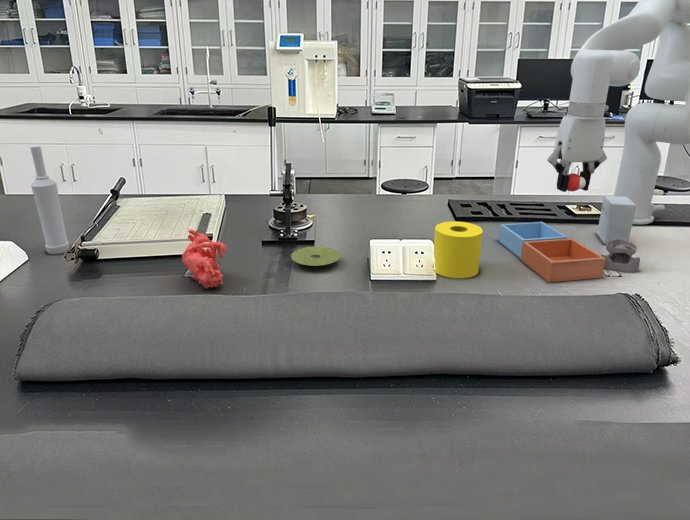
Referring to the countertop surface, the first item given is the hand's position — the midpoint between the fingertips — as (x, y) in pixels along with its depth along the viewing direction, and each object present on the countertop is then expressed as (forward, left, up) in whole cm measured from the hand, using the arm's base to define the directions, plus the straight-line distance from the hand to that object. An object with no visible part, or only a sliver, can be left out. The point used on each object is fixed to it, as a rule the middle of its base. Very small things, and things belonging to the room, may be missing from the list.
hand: (572, 189), depth 126 cm
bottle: (+122, -19, -15) cm, 124 cm away
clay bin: (+9, +13, -14) cm, 21 cm away
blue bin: (+9, 0, -14) cm, 17 cm away
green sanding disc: (+62, 0, -15) cm, 63 cm away
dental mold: (-5, +14, -14) cm, 21 cm away
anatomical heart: (+86, +6, -15) cm, 87 cm away
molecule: (0, 0, -1) cm, 1 cm away
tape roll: (+32, +9, -14) cm, 36 cm away
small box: (-14, -1, -14) cm, 20 cm away
